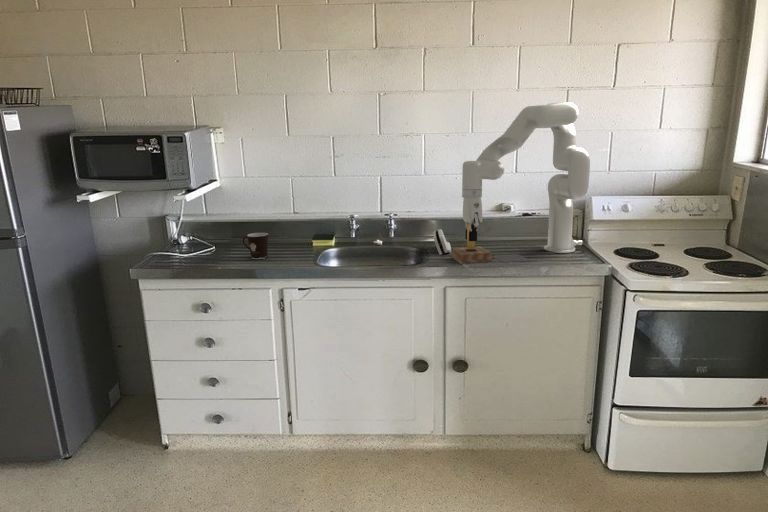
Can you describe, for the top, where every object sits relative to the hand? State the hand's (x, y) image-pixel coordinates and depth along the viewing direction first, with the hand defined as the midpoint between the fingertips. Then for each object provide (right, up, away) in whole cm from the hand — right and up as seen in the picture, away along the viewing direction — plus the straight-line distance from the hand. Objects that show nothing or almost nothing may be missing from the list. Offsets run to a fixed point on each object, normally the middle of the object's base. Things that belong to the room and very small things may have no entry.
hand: (471, 239), depth 222 cm
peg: (0, -3, +1) cm, 3 cm away
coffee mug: (-87, -7, +16) cm, 89 cm away
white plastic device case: (-9, -4, +21) cm, 23 cm away
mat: (+16, -8, +2) cm, 17 cm away
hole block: (0, -8, +2) cm, 8 cm away
